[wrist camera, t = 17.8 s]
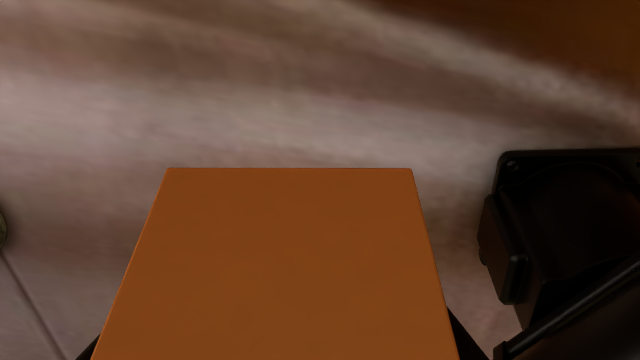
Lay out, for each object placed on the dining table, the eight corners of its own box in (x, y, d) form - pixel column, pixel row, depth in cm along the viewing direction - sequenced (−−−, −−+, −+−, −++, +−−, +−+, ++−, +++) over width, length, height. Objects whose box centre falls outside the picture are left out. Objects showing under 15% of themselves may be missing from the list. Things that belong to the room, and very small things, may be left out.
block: (412, 167, 9) (468, 388, 6) (391, 326, 12) (422, 546, 8) (166, 166, 9) (75, 389, 6) (197, 326, 12) (148, 548, 8)
